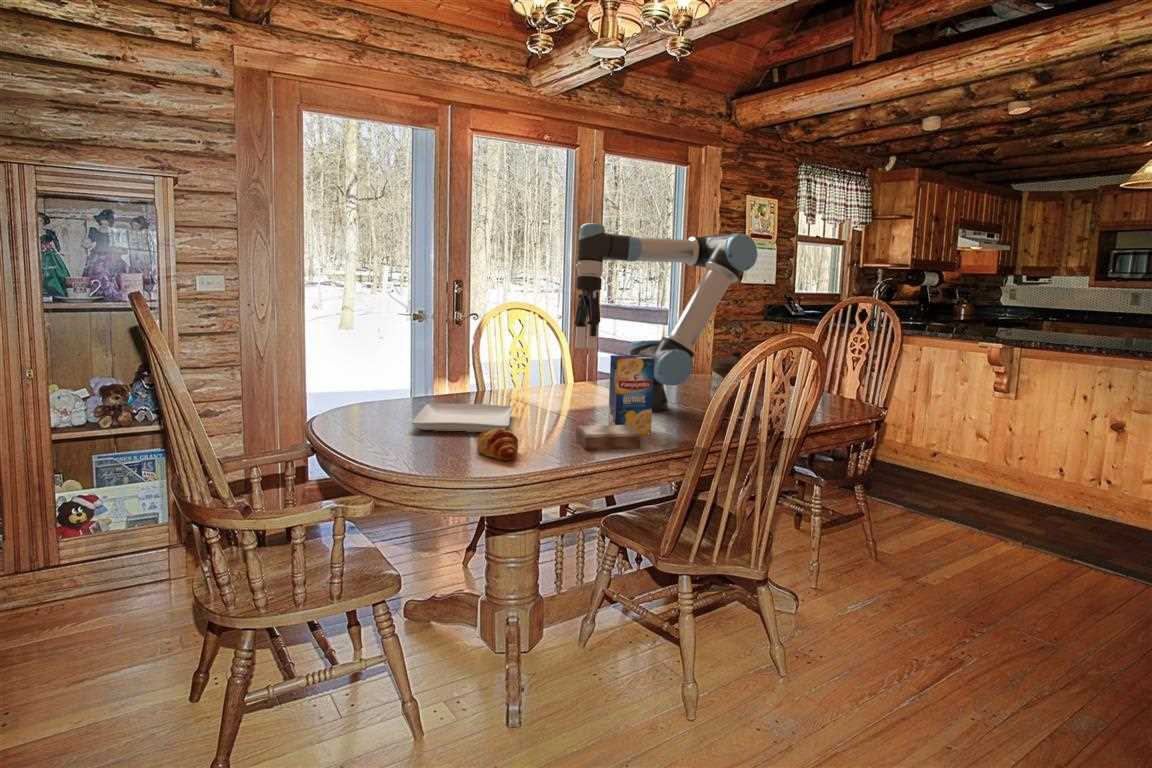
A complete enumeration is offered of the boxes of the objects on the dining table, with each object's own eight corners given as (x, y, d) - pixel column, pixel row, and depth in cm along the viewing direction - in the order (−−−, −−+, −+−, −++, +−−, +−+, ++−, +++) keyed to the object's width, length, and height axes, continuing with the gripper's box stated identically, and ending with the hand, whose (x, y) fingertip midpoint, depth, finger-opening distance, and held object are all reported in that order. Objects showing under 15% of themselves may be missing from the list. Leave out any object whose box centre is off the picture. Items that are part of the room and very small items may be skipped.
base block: (628, 438, 200) (628, 424, 200) (640, 448, 190) (640, 433, 189) (575, 439, 197) (576, 425, 196) (585, 449, 186) (585, 434, 186)
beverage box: (651, 434, 206) (654, 358, 202) (614, 435, 203) (617, 358, 200) (642, 428, 213) (646, 355, 209) (607, 429, 210) (610, 355, 206)
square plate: (410, 434, 198) (410, 421, 198) (427, 414, 225) (427, 402, 225) (508, 437, 199) (508, 423, 199) (513, 416, 226) (514, 404, 226)
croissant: (474, 457, 189) (460, 432, 187) (506, 437, 193) (492, 412, 190) (501, 477, 171) (486, 450, 168) (536, 455, 174) (522, 427, 171)
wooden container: (704, 410, 242) (708, 346, 238) (747, 411, 243) (751, 347, 239) (715, 420, 227) (720, 351, 224) (761, 421, 228) (766, 352, 225)
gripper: (567, 279, 225) (563, 347, 225) (588, 271, 201) (584, 346, 201) (590, 281, 227) (586, 348, 227) (613, 273, 202) (609, 348, 203)
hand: (585, 348), depth 214 cm, fingers open, 13 cm apart
